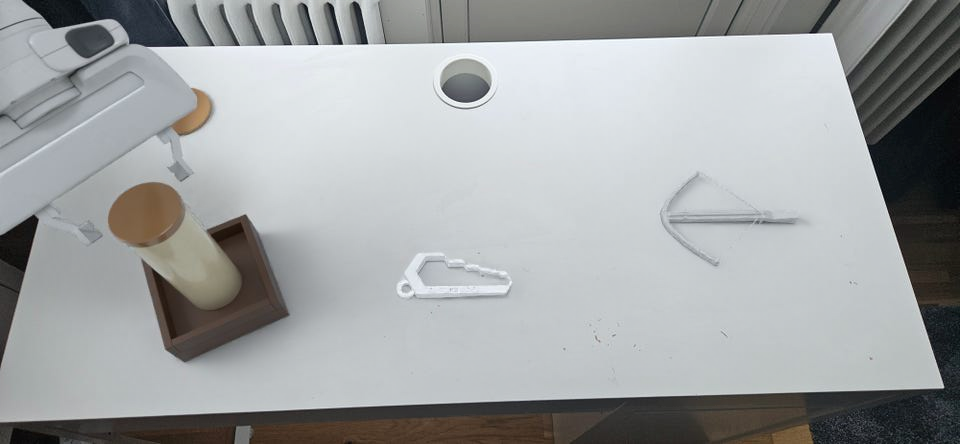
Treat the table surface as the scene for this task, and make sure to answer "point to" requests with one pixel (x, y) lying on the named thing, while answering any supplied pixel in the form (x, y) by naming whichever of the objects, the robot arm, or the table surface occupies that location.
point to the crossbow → (718, 218)
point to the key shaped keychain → (447, 291)
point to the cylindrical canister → (175, 244)
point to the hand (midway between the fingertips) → (142, 208)
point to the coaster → (194, 115)
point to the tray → (250, 310)
